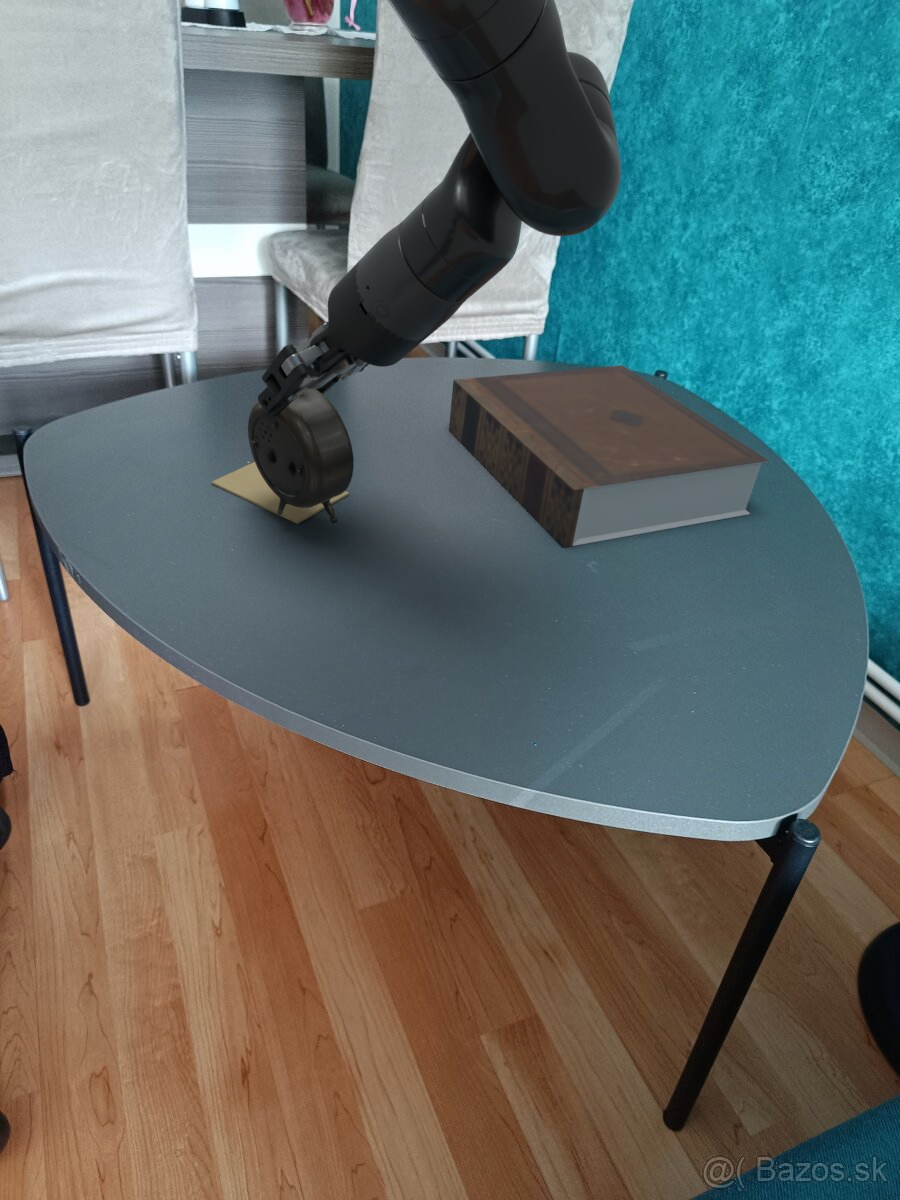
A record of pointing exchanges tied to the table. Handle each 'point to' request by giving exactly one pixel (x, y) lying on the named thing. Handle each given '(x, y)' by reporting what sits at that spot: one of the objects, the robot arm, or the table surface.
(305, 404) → the alarm clock
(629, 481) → the book
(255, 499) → the mat
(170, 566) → the table surface
